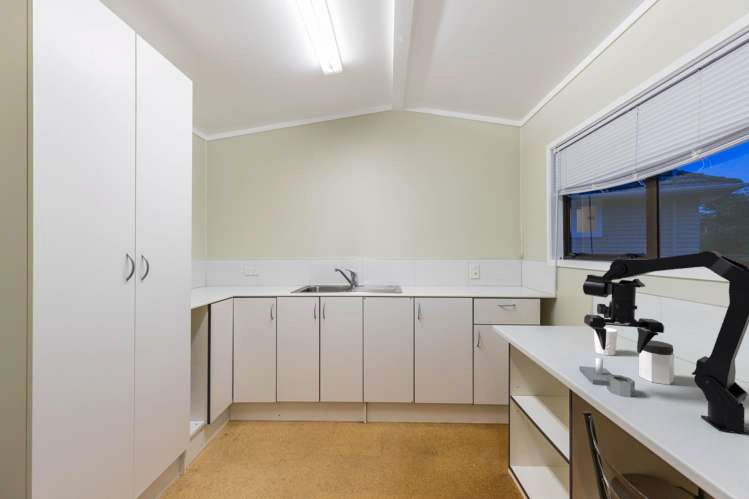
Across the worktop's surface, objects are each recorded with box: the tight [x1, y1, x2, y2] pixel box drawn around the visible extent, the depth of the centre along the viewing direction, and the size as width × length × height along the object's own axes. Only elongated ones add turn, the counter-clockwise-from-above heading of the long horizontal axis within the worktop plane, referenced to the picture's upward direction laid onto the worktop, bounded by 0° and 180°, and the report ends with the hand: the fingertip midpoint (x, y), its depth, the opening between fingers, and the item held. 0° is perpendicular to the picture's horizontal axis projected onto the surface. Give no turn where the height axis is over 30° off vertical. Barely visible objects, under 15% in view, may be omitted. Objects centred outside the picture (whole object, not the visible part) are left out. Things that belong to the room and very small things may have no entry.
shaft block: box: [578, 357, 614, 387], centre depth 108 cm, size 12×8×6 cm, turn 165°
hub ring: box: [606, 373, 636, 398], centre depth 98 cm, size 6×6×4 cm
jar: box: [638, 339, 675, 386], centre depth 107 cm, size 9×8×12 cm
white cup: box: [593, 326, 618, 357], centre depth 133 cm, size 8×8×10 cm
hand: (620, 351), depth 98 cm, fingers open, 9 cm apart
